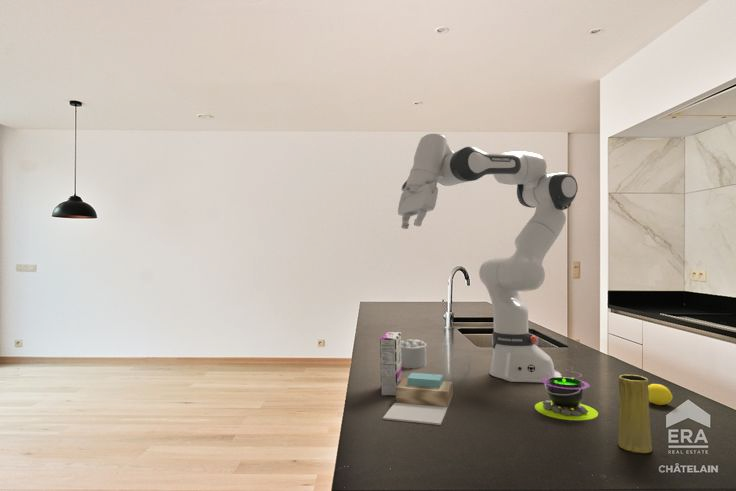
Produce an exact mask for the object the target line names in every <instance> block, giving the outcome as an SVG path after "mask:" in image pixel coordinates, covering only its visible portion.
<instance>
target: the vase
mask: <svg viewBox="0 0 736 491" xmlns="http://www.w3.org/2000/svg"><path fill="white" fill-rule="evenodd" d="M648 385H649V379H648V378H647V377H645V376H643V375H637V374H621V375H619V376H618V389H619V390H618V391H619V410H618V413H619V414H618V417H619V418H618V440H617V445H618V446H619V448H620V449H623V450H625V451H627V452H630V453H635V454H651V452H652V451H653V446H652V435H651V434H652V433H651V419H650V418H651V417H650V401H649V390H648Z"/></svg>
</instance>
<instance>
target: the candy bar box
mask: <svg viewBox="0 0 736 491" xmlns="http://www.w3.org/2000/svg"><path fill="white" fill-rule="evenodd" d="M401 340H402V332H401V331H400V332H399V331H396V332H395V331H386V332H385V333H384V334H383V335H382V337H380V338H379V345H380V346H379V347H380V351H379V352H380V394H381V396H383V397H384V396H385V397H386V396H387V397H396V387H397V386H398V385H399V384H400V382H401V381H402V380H403V374H402V373H403V372H402V369H403V367H402V359H401Z"/></svg>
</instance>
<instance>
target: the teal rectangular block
mask: <svg viewBox="0 0 736 491" xmlns="http://www.w3.org/2000/svg"><path fill="white" fill-rule="evenodd" d="M443 381H444V374H434V373H421V372H411V373H410V374H409V375H408V376H407V385H410V386H423V387H436V388H440V387H441V385H442V383H443Z"/></svg>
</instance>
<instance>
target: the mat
mask: <svg viewBox="0 0 736 491" xmlns="http://www.w3.org/2000/svg"><path fill="white" fill-rule="evenodd" d="M447 411H448V407H441V406H430V405H419V404H408V403H397V402H394V403H393V404H392V406H391V407H389V409H388V410H387V412H386V413H385V415H384V416H383V417H382V420H390V421H395V422H397V421H399V422H404V423H405V422H407V423H418V424H424V425H425V424H427V425H437V426H442V423H443V421H444V418H445V416H446V413H447Z"/></svg>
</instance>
